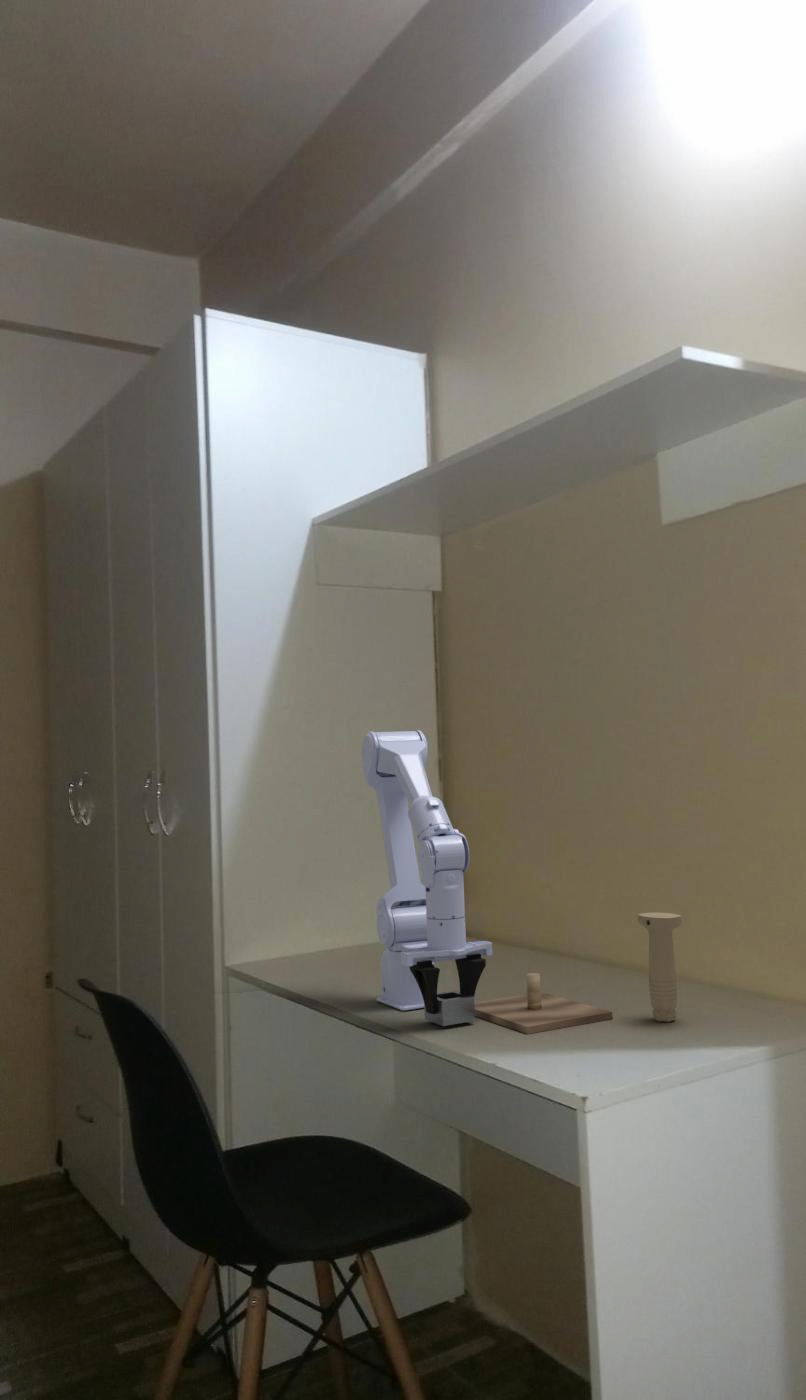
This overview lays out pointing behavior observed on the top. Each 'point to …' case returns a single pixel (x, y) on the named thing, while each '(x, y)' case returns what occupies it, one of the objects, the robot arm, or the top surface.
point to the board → (538, 1010)
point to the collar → (452, 1008)
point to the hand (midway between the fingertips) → (449, 1010)
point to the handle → (661, 963)
